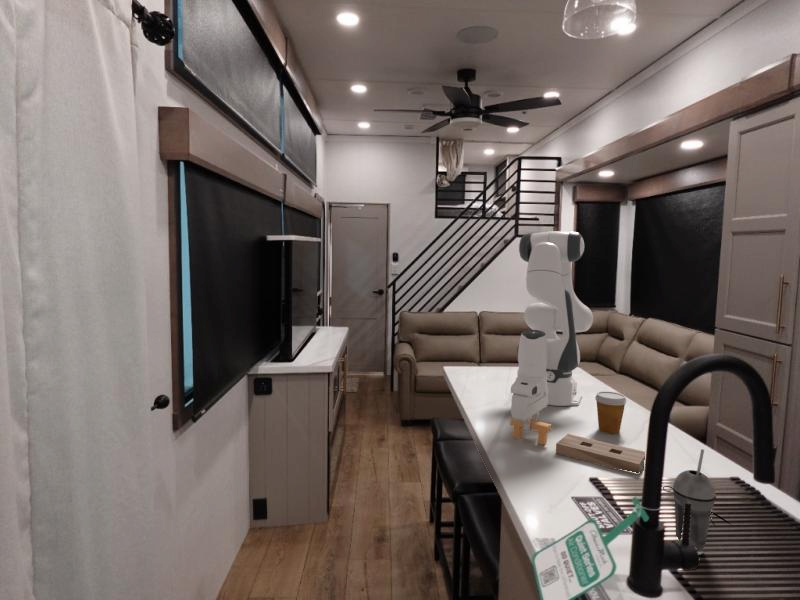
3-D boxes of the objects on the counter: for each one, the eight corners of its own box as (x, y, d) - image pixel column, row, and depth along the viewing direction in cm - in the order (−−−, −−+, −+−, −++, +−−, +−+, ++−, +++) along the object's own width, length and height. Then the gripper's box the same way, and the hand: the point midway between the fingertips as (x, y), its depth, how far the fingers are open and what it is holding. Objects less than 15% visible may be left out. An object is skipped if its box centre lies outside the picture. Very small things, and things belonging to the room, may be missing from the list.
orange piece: (513, 434, 154) (514, 416, 154) (550, 443, 147) (551, 424, 147) (509, 436, 152) (510, 418, 152) (546, 446, 145) (547, 427, 144)
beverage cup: (660, 538, 98) (666, 442, 96) (694, 537, 98) (701, 442, 96) (684, 561, 90) (691, 458, 89) (721, 559, 91) (729, 457, 89)
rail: (567, 443, 148) (567, 433, 147) (646, 462, 134) (647, 452, 134) (555, 453, 140) (556, 443, 139) (638, 475, 126) (639, 464, 126)
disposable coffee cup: (625, 428, 161) (627, 393, 160) (623, 438, 153) (626, 400, 152) (595, 423, 165) (596, 389, 164) (591, 432, 157) (593, 396, 156)
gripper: (535, 375, 158) (533, 416, 159) (508, 388, 142) (506, 434, 143) (554, 378, 154) (552, 420, 156) (528, 392, 138) (526, 439, 139)
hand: (530, 427), depth 149 cm, fingers closed on orange piece, 3 cm apart
